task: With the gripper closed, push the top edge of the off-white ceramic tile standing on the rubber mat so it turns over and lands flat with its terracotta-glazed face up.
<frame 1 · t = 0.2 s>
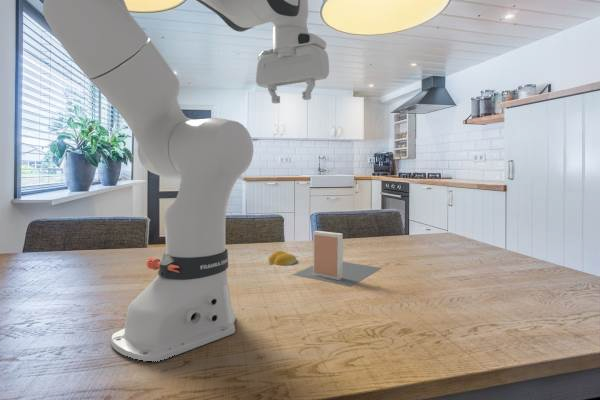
hand: (290, 101, 92), 47 cm above the table, fingers open, 8 cm apart
mat: (338, 273, 103), on the table
bread roll: (282, 264, 115), on the table
tile: (327, 276, 98), point 1 cm above the table, touching mat
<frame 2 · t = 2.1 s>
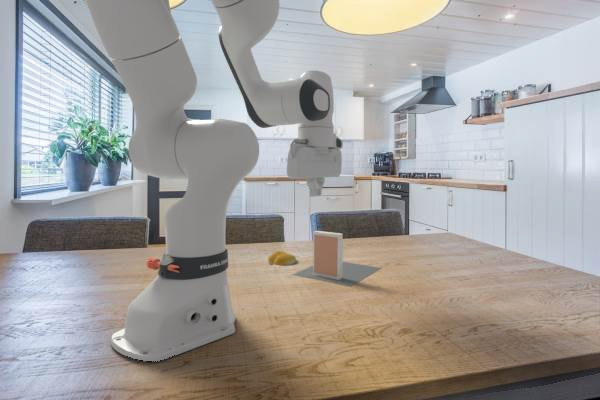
hand: (315, 196, 91), 23 cm above the table, fingers closed
nothing on the table moved.
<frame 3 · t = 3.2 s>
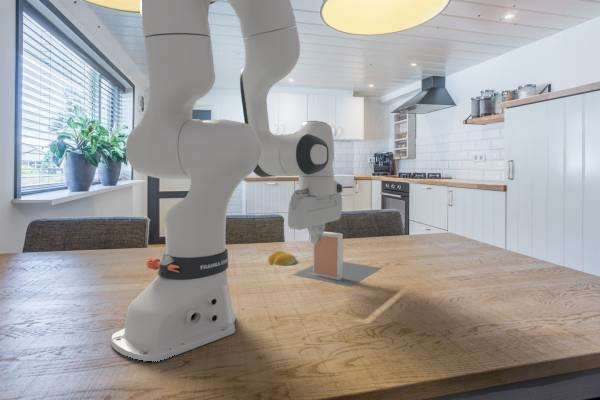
hand: (316, 241, 93), 11 cm above the table, fingers closed
nothing on the table moved.
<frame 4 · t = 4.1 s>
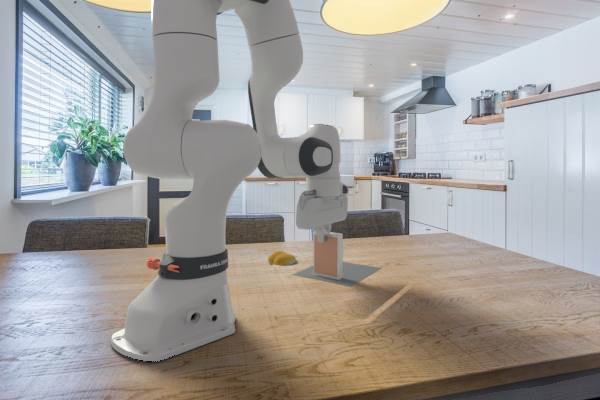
hand: (323, 241, 95), 11 cm above the table, fingers closed
tile: (327, 276, 98), point 1 cm above the table, touching gripper, mat
everything else where it was.
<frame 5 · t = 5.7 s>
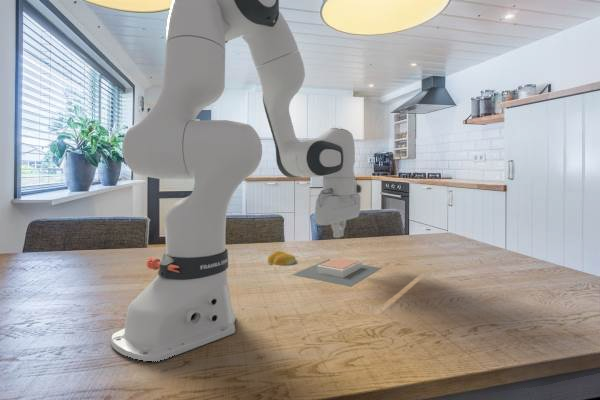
hand: (338, 236, 102), 11 cm above the table, fingers closed
tile: (329, 271, 99), point 2 cm above the table, tilted 90°, touching mat
everything else where it was.
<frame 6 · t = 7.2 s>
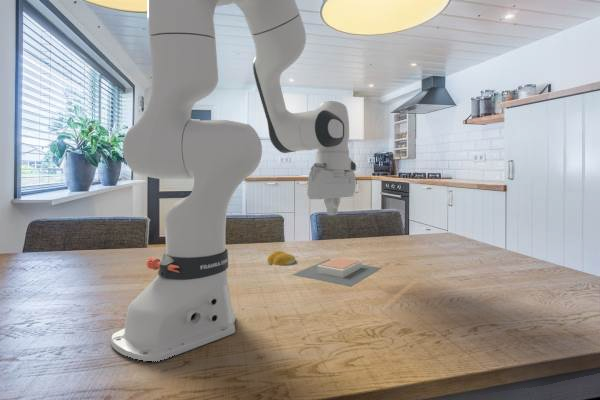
hand: (332, 214, 99), 17 cm above the table, fingers closed
nothing on the table moved.
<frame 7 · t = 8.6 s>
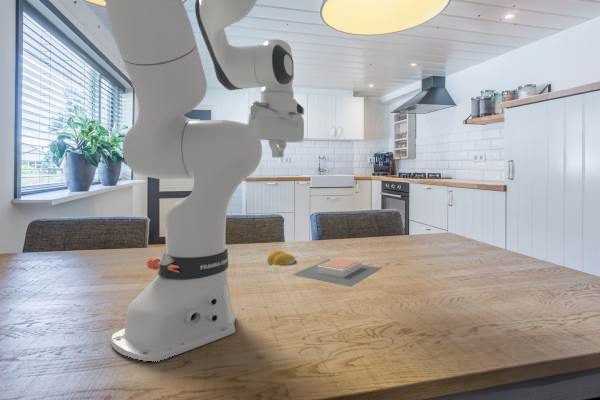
hand: (277, 157, 99), 33 cm above the table, fingers closed
nothing on the table moved.
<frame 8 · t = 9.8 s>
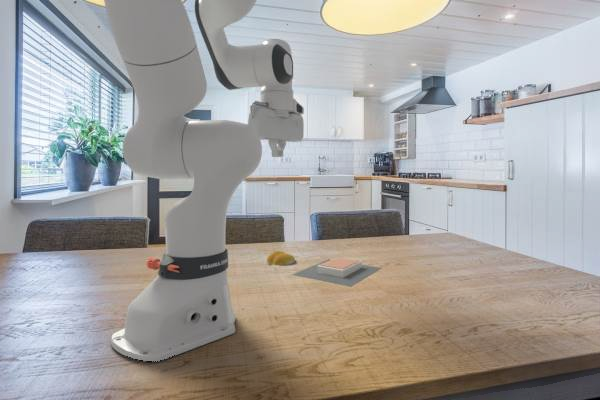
hand: (277, 157, 99), 33 cm above the table, fingers closed
nothing on the table moved.
at the end: tile tilted 90°; tile inside the target area on the mat (1.8 cm from its centre), point 1.8 cm above the mat's base; tile touching mat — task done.
